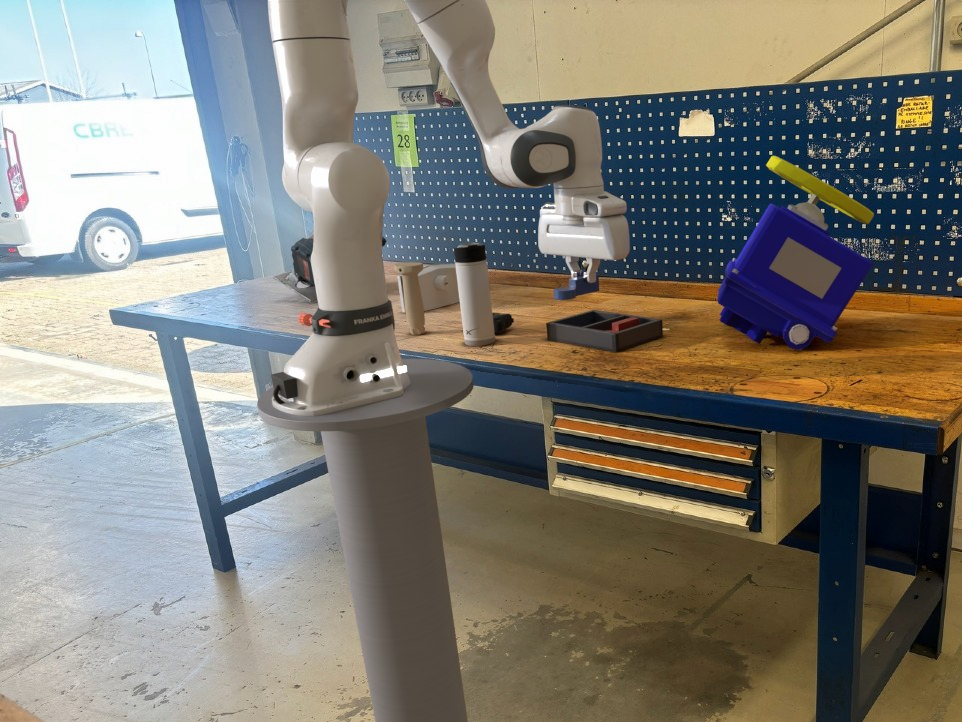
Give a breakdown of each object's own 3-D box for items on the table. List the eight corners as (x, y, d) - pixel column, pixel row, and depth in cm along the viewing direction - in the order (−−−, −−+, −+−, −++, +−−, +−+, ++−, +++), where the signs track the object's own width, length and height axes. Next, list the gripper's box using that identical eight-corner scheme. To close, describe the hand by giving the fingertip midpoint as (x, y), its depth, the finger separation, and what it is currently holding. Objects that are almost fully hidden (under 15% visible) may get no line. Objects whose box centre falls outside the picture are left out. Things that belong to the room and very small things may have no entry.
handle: (420, 337, 182) (410, 266, 176) (399, 334, 185) (389, 265, 180) (436, 332, 185) (427, 263, 180) (415, 329, 189) (406, 261, 184)
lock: (422, 315, 204) (417, 273, 200) (397, 312, 209) (391, 271, 205) (478, 300, 217) (473, 260, 213) (453, 297, 222) (448, 259, 219)
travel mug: (469, 348, 170) (457, 247, 163) (461, 341, 176) (449, 243, 169) (499, 343, 172) (488, 243, 165) (490, 337, 178) (480, 240, 171)
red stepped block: (628, 330, 173) (627, 316, 172) (643, 333, 170) (642, 318, 169) (594, 341, 166) (593, 326, 165) (609, 344, 164) (608, 328, 163)
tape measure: (502, 336, 178) (500, 319, 177) (472, 336, 180) (470, 318, 179) (515, 329, 184) (513, 312, 183) (486, 328, 186) (484, 311, 185)
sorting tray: (616, 352, 161) (615, 334, 160) (547, 339, 173) (545, 322, 172) (663, 336, 170) (662, 319, 169) (594, 325, 183) (593, 309, 181)
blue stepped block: (588, 289, 160) (587, 273, 159) (603, 291, 157) (602, 275, 156) (549, 298, 153) (548, 282, 152) (564, 300, 151) (563, 283, 150)
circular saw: (252, 292, 225) (274, 207, 213) (340, 269, 256) (363, 193, 243) (313, 333, 222) (338, 249, 210) (393, 305, 253) (420, 230, 240)
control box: (687, 306, 154) (776, 152, 144) (693, 287, 179) (769, 155, 169) (809, 376, 155) (907, 228, 145) (798, 348, 180) (880, 220, 170)
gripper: (527, 203, 156) (533, 279, 160) (608, 206, 142) (612, 289, 147) (552, 200, 160) (557, 274, 165) (633, 202, 146) (636, 283, 151)
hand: (584, 281), depth 156 cm, fingers closed on blue stepped block, 2 cm apart
